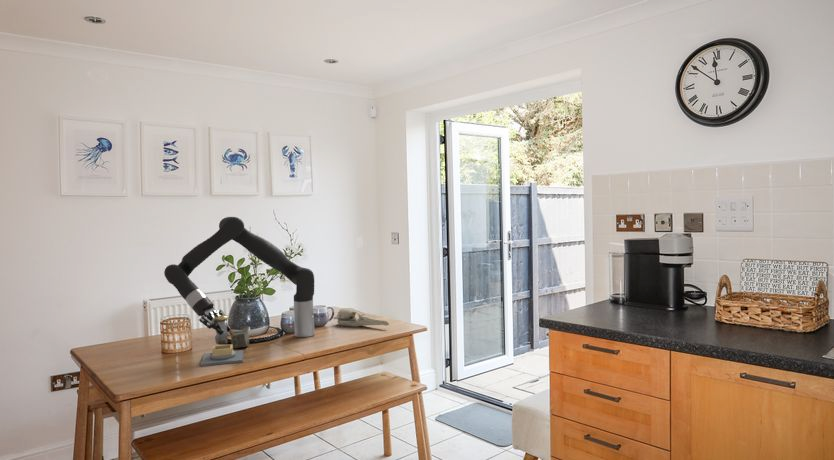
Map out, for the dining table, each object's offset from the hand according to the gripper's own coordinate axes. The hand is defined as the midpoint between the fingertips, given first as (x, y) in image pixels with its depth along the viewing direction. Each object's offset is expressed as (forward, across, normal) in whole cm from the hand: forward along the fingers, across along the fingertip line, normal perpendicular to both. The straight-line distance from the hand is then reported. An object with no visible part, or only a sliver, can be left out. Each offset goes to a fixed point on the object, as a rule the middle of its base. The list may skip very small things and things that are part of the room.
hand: (225, 331), depth 224 cm
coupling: (+2, 0, +5) cm, 5 cm away
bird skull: (+34, +66, -18) cm, 77 cm away
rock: (+3, +22, +13) cm, 26 cm away
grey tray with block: (+7, 0, +9) cm, 12 cm away
